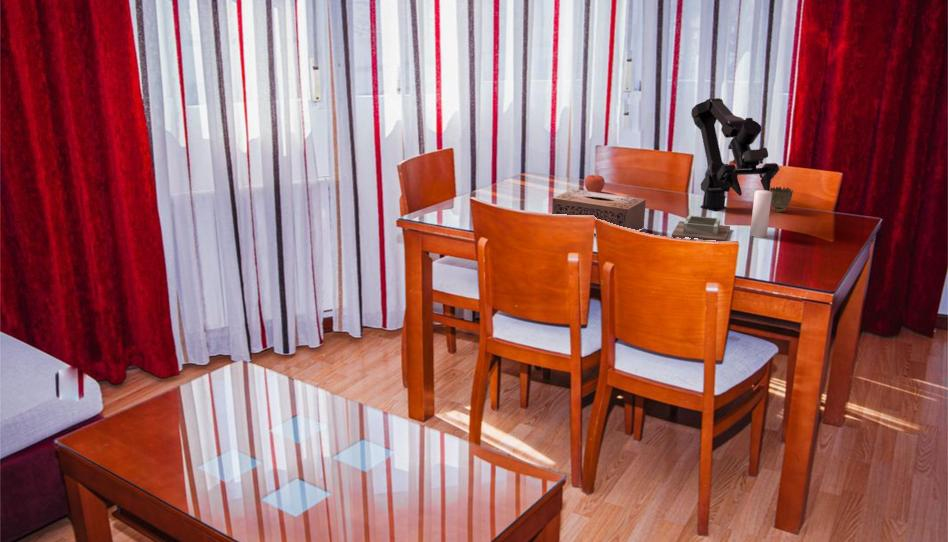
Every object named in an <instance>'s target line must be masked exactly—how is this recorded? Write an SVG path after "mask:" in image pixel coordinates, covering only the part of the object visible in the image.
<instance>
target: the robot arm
mask: <svg viewBox="0 0 948 542" xmlns="http://www.w3.org/2000/svg"><path fill="white" fill-rule="evenodd" d="M690 113H691V118H692V120H693V123H694V125H695V126H696V127H697V128H698V129H699V130H700V132H701V138H702V142H703V148H704V153H705V158H706V163H707V169H706V171H705V173H704V178H703V179H702V180H701V183H700V190H701V191H703V192H704V195H703V205H702V204H701V205H700V208H702V209H705V210H710V211H715V212H716V211H720V210H724V209H727V206H725V204H726V196H725V195H726V192H727V193H728V192H730V189H731V190H733V191H734V193H736V194H737V195H738V196H739V197H741V196H742V195H743V193H742V189H741V185H740V182H739V179H738V175H739V176H740V175H741V176H742V175H743V176H750V175H752V176H753V175H759V178H761V179H760V182H761V185H762V188H763V190H766V191H770V188H771V182H772V179H774V178H775V177H776V176H775V175H778V172H779V171H780V167H779V164H778V163H776V162H765V163H764V164H763V165H762V167H757V166H759V165H760V161H763V160H765V159H766V158H768V157H769V152H768V149H767V147H760V148H758V149H752V148H751V145H753V143H754V142H755V141H756V139H757V138H758V137H759V135H760V133H761V132H762V126H761V124H760V123H759V122H757V121H756V120H754V119H753V117H746V118H743V117H740V116H736V115H734V113H733V112H732V111H731V110H730V109H729V108H728V107H727V106H726V105H725V103H724V100H723V99H722V98H719V97H718V98H712V97H711V98H707V99H706V100H705V101H702V102H700V103H698V104H695V105H694V106H693V107H692V108H691V112H690ZM717 121H718V122H719V123H720V125H721V128H720V131H721V133H722V134H723V136H724V137H725V138H726V139H727V138H731V140H730V142H729V144H728V148H727V149H728V150H731V153H732V155H733V160H732V163H733V164H732V163H730V164H729V163H724V162H723V160H722V155H721V149H720V145H719V140H718V135H717V131H716V126H715V125H716V122H717Z"/></svg>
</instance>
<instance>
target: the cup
mask: <svg viewBox="0 0 948 542" xmlns="http://www.w3.org/2000/svg"><path fill="white" fill-rule="evenodd" d="M770 192H772V197H771V206H772V207H773V211H774V212H775V211H776V212H775V213H784V212H785V211H786V208H788V207H789V206H790V203H791V200H792V197H793V193H794V189H792V188H790V187H789V186H788V187H784V186H783V187H781V186H779V187H778V186H776V187H775V186H773V187H771V186H770Z"/></svg>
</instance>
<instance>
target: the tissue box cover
mask: <svg viewBox="0 0 948 542" xmlns="http://www.w3.org/2000/svg"><path fill="white" fill-rule="evenodd" d="M646 201H647V200H646V198H638V197H633V196H631V197H630V196H625V195H617V194H611V193H610V194H609V193H604V192H603V193H602V192H600V193H597V192H590V191H587V190H581V189H575V188H572V189H570V190H567V191H565V192H563V193H561V194H559V195H556V196H554V197H552V201H551V204H552V206H551V207H552V209H551V210H552V211H551V215H552V214H567V215H594V216H595V217H596V218H597V219H601V220H605V221H607V222H610V223H613V224H616V225H619V226H623V227H627V228H631V229H635V230H639V229H642V228H644V229H645V217H646V215H645V214H646Z"/></svg>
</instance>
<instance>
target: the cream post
mask: <svg viewBox="0 0 948 542" xmlns="http://www.w3.org/2000/svg"><path fill="white" fill-rule="evenodd" d="M771 197H772V192H770V191H766V190H764V189H757V190H755V191H754V197H753V204H752V205H753V206H752V213H751V214H752V215H751V222H750V230H749V236H750V235H751V236H750V237H752V236H754V237H753V238H756V237H759V238H758V239H764V238H763V237H765V238H767V237H768V229H769V222H770V220H769V219H770V212H771V206H772V204H771ZM766 236H767V237H766Z"/></svg>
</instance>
